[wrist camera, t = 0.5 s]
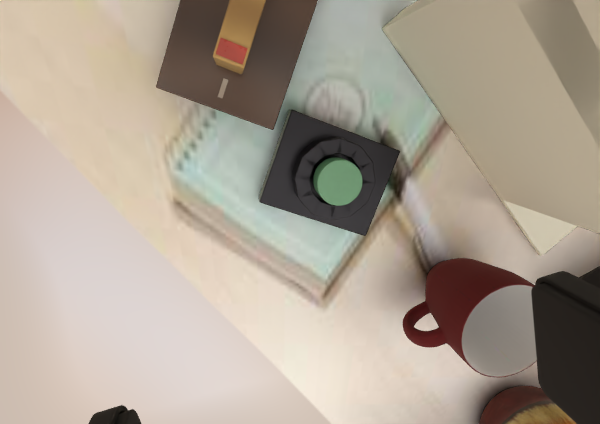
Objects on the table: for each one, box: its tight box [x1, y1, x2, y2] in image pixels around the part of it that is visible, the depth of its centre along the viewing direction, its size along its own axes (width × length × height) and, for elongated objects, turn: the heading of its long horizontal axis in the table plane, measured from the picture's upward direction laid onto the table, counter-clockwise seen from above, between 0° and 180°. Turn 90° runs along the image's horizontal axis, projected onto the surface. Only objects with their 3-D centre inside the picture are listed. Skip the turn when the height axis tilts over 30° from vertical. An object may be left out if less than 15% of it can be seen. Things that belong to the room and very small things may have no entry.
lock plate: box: [156, 0, 318, 130], centre depth 31 cm, size 12×9×3 cm
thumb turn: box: [213, 0, 266, 74], centre depth 27 cm, size 6×2×5 cm, turn 160°
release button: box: [313, 157, 362, 206], centre depth 32 cm, size 4×4×2 cm
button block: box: [259, 110, 400, 236], centre depth 35 cm, size 10×8×4 cm
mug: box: [403, 258, 537, 377], centre depth 36 cm, size 11×8×10 cm
